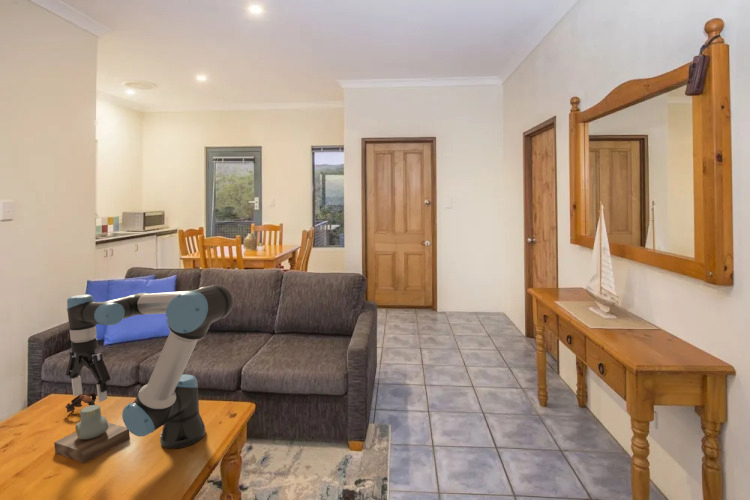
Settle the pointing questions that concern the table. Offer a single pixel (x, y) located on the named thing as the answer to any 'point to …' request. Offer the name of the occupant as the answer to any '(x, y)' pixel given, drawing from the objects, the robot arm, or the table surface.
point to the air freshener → (91, 423)
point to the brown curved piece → (78, 399)
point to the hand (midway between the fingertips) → (90, 397)
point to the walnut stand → (91, 444)
